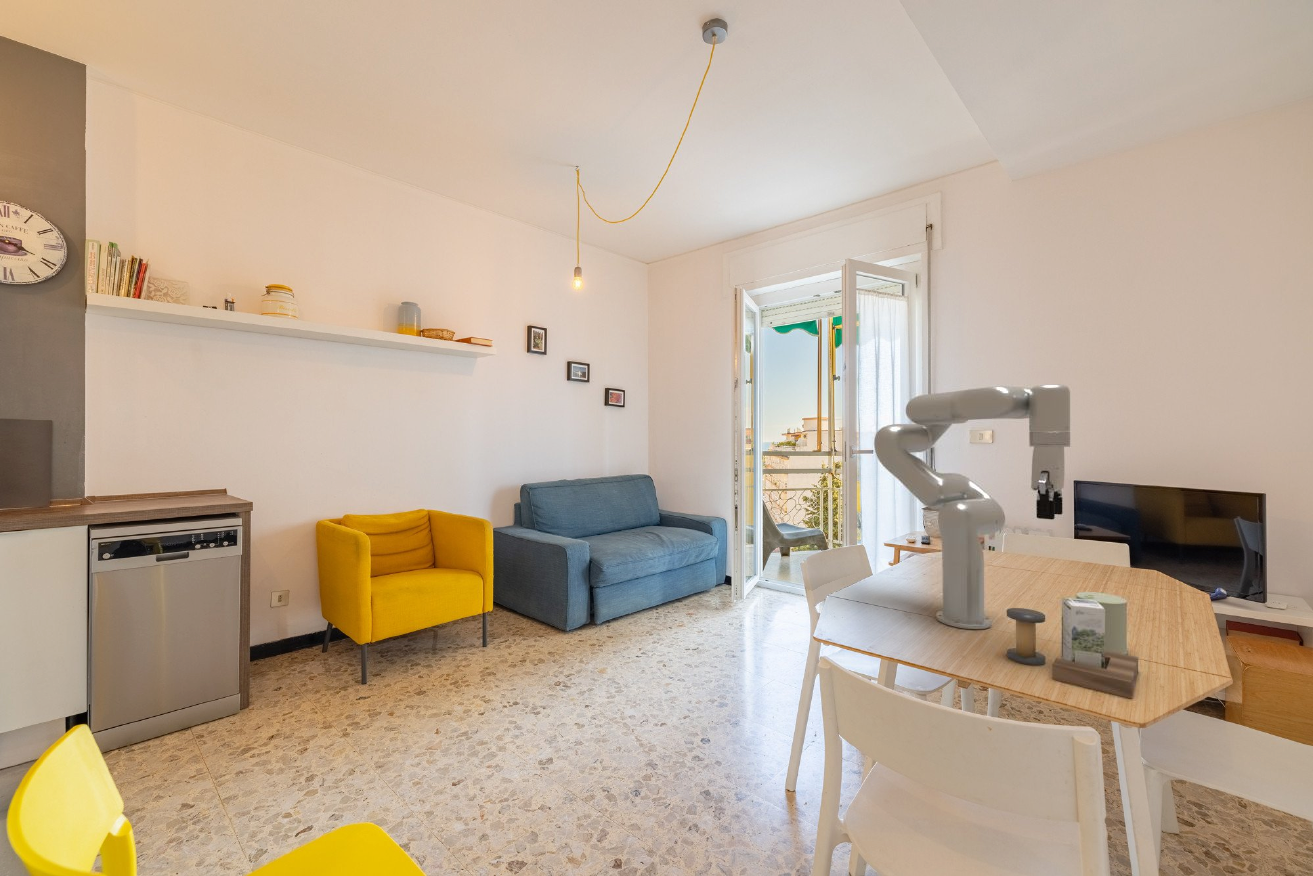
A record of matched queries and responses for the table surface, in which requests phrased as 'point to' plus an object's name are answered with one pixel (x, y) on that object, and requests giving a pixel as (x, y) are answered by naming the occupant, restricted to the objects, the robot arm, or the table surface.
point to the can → (1111, 619)
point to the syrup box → (1083, 632)
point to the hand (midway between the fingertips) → (1049, 516)
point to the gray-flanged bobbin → (1026, 636)
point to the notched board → (1101, 674)
